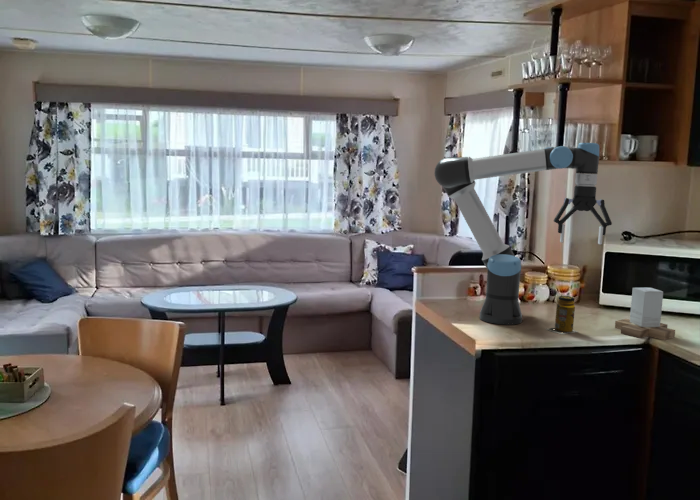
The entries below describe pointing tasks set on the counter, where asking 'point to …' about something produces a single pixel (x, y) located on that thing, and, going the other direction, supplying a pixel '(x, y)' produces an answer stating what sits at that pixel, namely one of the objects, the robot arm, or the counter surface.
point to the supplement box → (646, 307)
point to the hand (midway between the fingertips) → (580, 243)
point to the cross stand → (644, 330)
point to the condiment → (564, 315)
